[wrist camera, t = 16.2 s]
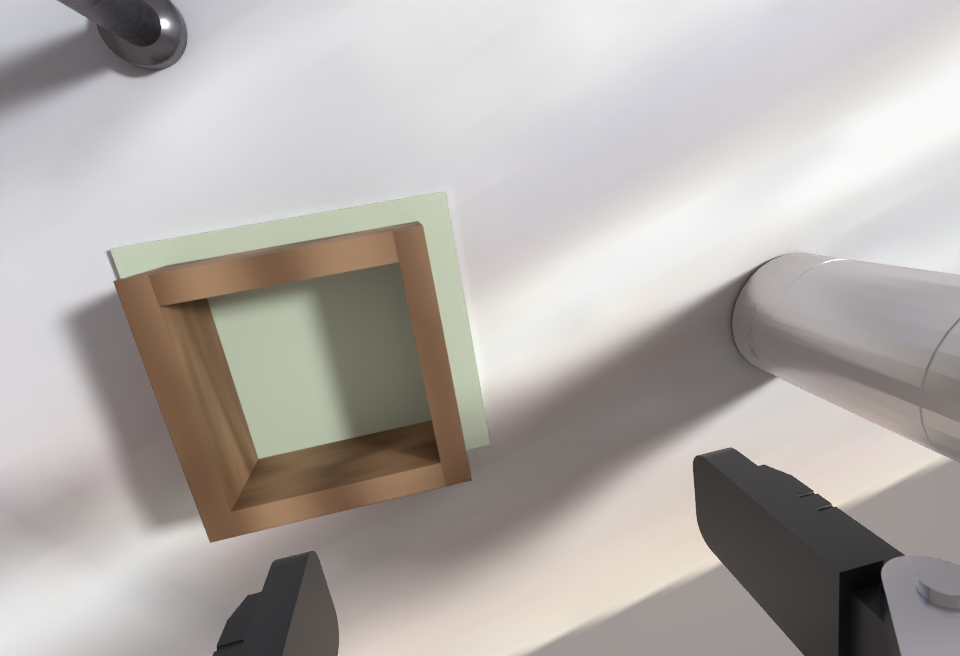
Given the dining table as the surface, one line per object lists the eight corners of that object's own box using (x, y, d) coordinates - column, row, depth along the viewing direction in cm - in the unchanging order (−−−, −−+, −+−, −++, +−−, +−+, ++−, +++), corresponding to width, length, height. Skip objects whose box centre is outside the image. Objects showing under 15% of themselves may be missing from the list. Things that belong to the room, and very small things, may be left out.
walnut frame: (417, 221, 32) (423, 226, 26) (459, 435, 36) (471, 480, 30) (166, 265, 30) (113, 281, 24) (241, 484, 34) (210, 542, 28)
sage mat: (445, 191, 32) (445, 191, 32) (489, 442, 37) (490, 444, 37) (113, 248, 30) (109, 248, 29) (207, 507, 35) (205, 510, 34)
